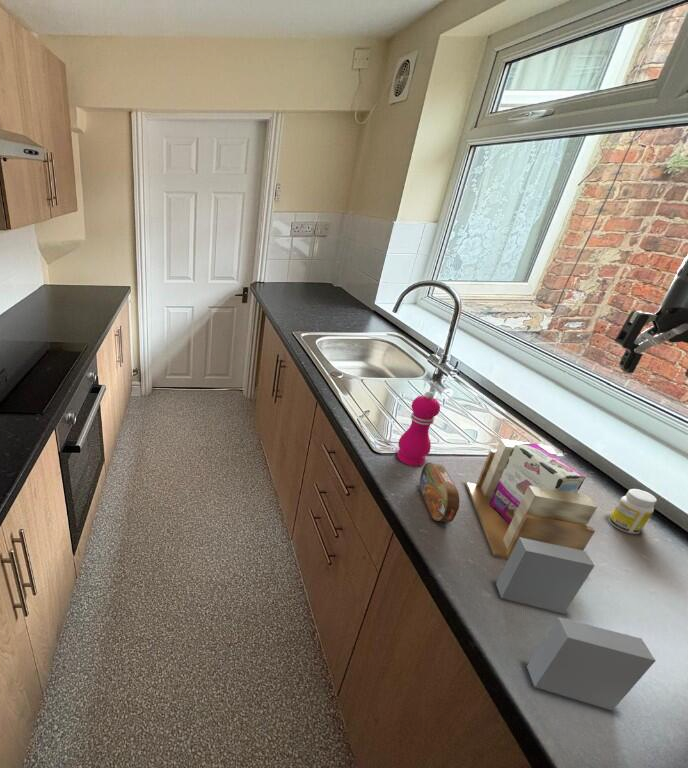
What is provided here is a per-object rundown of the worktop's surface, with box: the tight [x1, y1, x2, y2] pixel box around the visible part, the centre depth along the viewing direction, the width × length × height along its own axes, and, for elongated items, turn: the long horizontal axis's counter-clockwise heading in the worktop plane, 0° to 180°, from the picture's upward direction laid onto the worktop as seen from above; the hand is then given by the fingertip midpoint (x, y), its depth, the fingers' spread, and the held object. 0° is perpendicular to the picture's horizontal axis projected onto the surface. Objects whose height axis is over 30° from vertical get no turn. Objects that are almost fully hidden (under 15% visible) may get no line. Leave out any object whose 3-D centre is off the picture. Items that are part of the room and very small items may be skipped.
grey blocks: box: [495, 537, 656, 711], centre depth 64 cm, size 9×18×12 cm, turn 160°
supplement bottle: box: [608, 488, 658, 534], centre depth 85 cm, size 5×5×8 cm
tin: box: [419, 462, 460, 523], centre depth 91 cm, size 15×3×8 cm, turn 167°
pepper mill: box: [396, 391, 441, 467], centre depth 104 cm, size 7×7×20 cm
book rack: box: [465, 438, 598, 560], centre depth 84 cm, size 14×22×15 cm, turn 160°
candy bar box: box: [489, 442, 587, 524], centre depth 84 cm, size 11×5×16 cm, turn 4°
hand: (658, 374), depth 70 cm, fingers open, 8 cm apart
